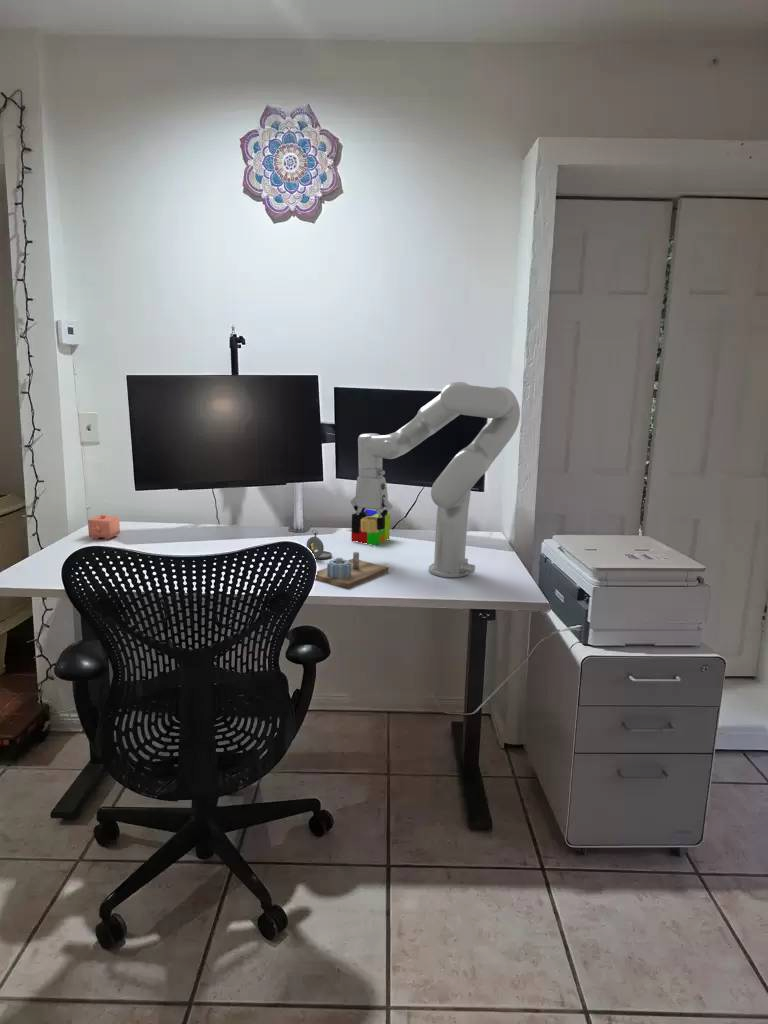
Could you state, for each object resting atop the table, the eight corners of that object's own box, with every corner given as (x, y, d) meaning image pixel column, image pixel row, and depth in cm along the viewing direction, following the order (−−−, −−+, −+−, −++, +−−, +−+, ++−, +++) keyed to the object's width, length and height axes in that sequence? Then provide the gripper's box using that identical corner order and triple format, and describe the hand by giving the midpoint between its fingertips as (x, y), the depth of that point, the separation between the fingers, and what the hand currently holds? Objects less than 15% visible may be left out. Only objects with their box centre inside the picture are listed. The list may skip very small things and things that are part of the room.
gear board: (388, 572, 203) (389, 552, 202) (347, 588, 188) (348, 567, 186) (353, 562, 211) (353, 543, 210) (311, 578, 196) (311, 557, 194)
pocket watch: (332, 554, 220) (332, 525, 218) (330, 561, 212) (330, 531, 210) (308, 553, 220) (308, 524, 218) (305, 561, 212) (305, 531, 209)
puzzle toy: (366, 535, 245) (366, 509, 242) (389, 539, 240) (390, 513, 237) (351, 541, 236) (351, 514, 234) (374, 546, 231) (375, 518, 229)
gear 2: (386, 529, 212) (386, 517, 211) (373, 533, 207) (373, 521, 206) (369, 526, 216) (369, 514, 215) (356, 531, 211) (356, 518, 210)
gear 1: (355, 574, 196) (355, 561, 195) (340, 580, 190) (340, 567, 189) (337, 569, 200) (337, 556, 199) (322, 575, 194) (322, 562, 193)
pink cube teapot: (84, 542, 225) (82, 518, 223) (102, 533, 236) (100, 510, 234) (105, 543, 224) (104, 520, 222) (123, 534, 235) (121, 512, 234)
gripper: (399, 473, 205) (400, 528, 209) (356, 469, 215) (357, 522, 219) (385, 476, 199) (386, 533, 203) (341, 472, 210) (343, 526, 213)
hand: (371, 527), depth 211 cm, fingers closed on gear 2, 6 cm apart
